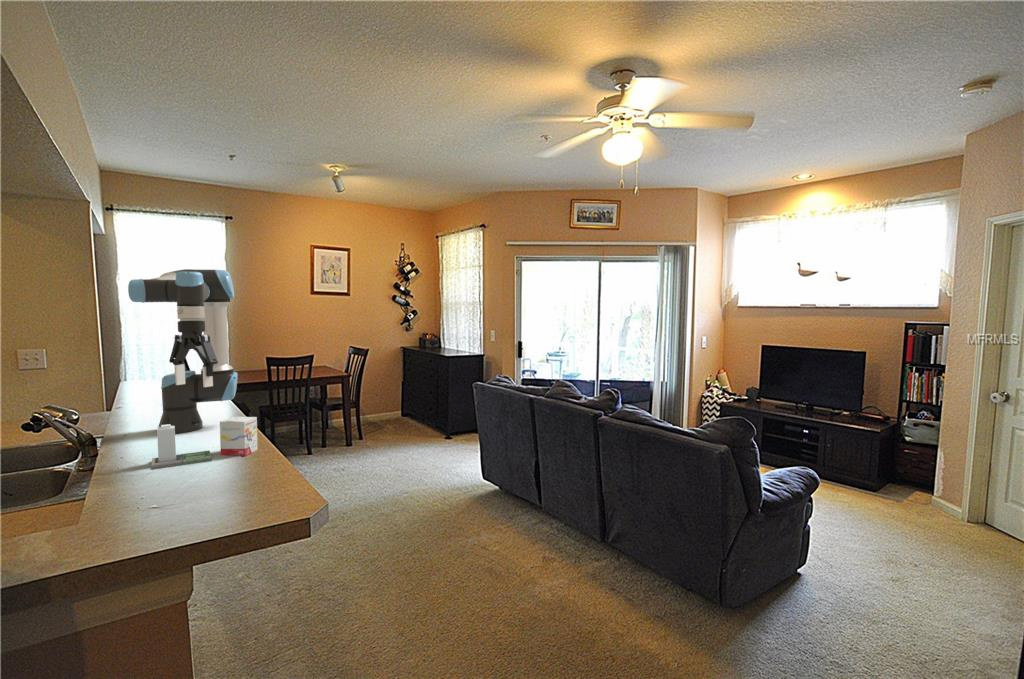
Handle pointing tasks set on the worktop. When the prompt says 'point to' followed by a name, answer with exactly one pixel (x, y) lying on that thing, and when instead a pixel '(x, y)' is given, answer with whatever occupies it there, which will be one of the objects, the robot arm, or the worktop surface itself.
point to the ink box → (238, 436)
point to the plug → (166, 443)
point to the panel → (183, 460)
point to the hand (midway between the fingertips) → (194, 385)
